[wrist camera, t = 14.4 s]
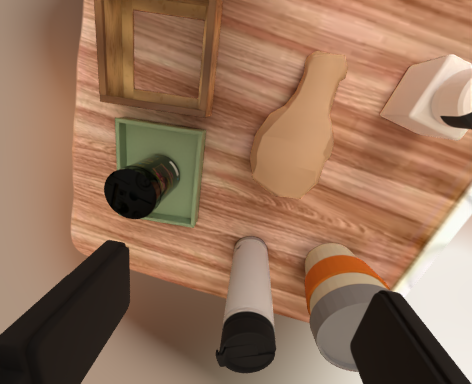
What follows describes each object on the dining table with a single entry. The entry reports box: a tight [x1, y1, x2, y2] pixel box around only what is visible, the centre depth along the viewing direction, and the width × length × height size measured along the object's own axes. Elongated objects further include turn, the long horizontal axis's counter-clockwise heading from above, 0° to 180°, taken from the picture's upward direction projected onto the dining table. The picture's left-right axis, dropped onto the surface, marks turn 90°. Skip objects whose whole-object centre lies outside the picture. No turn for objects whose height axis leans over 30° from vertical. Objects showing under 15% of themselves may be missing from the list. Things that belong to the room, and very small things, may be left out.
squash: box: [250, 51, 348, 199], centre depth 31 cm, size 11×20×9 cm, turn 163°
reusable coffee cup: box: [305, 243, 390, 372], centre depth 35 cm, size 12×12×15 cm
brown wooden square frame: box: [94, 0, 223, 118], centre depth 31 cm, size 15×15×5 cm
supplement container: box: [104, 154, 180, 219], centre depth 33 cm, size 7×7×10 cm
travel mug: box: [216, 236, 276, 373], centre depth 33 cm, size 6×7×20 cm
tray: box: [115, 117, 206, 228], centre depth 38 cm, size 16×13×3 cm
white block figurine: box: [380, 54, 472, 140], centre depth 27 cm, size 7×7×12 cm
